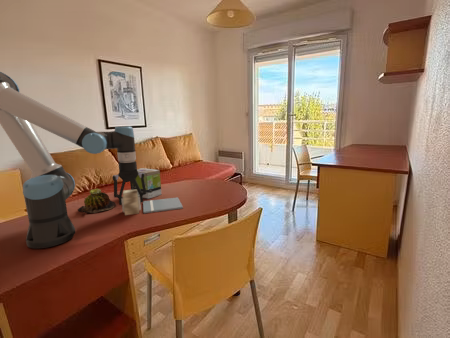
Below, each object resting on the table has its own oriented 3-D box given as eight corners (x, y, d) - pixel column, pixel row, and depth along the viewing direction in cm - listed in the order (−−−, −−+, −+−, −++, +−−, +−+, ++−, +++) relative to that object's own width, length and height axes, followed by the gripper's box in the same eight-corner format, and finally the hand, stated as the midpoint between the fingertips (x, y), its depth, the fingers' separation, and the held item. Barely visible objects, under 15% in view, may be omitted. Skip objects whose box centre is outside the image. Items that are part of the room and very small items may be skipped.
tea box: (162, 194, 139) (160, 169, 137) (148, 199, 131) (146, 172, 128) (144, 191, 147) (142, 167, 145) (130, 195, 139) (128, 170, 136)
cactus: (69, 214, 113) (66, 193, 111) (91, 202, 128) (89, 184, 126) (104, 214, 111) (101, 194, 109) (122, 203, 126) (120, 185, 125)
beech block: (125, 215, 109) (122, 194, 107) (125, 210, 115) (123, 190, 113) (139, 213, 111) (137, 192, 109) (139, 209, 117) (137, 189, 115)
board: (143, 213, 111) (143, 211, 111) (143, 202, 126) (143, 201, 125) (182, 208, 117) (182, 206, 116) (178, 198, 131) (177, 197, 131)
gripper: (102, 164, 102) (108, 215, 106) (150, 161, 108) (154, 210, 112) (104, 161, 109) (110, 210, 113) (149, 158, 115) (153, 204, 119)
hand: (132, 210), depth 113 cm, fingers open, 6 cm apart
